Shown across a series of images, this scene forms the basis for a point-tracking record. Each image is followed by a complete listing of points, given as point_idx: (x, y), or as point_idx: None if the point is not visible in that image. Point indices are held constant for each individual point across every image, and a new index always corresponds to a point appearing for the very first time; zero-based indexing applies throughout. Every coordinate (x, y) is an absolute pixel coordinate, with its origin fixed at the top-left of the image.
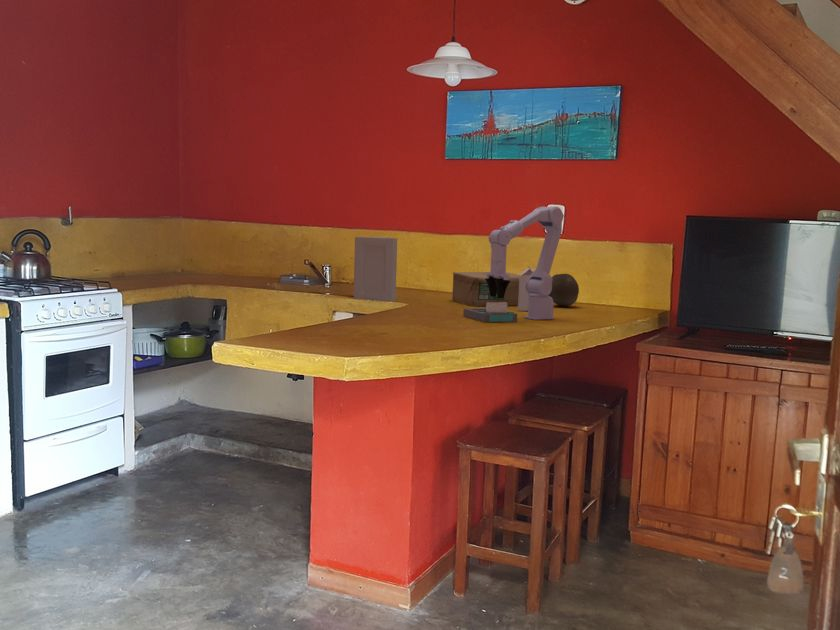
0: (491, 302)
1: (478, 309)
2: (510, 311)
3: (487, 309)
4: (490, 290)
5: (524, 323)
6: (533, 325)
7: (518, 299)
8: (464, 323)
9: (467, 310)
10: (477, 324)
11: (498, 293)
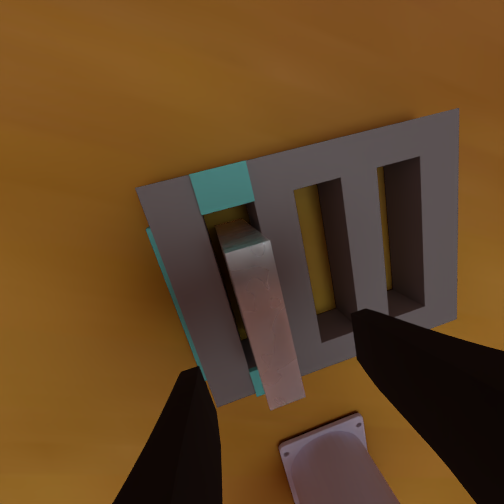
0: (275, 287)
1: (420, 211)
2: None
3: (235, 234)
4: (407, 346)
5: (154, 400)
6: (82, 434)
7: None
8: (60, 10)
9: (399, 123)
10: (27, 110)
11: (159, 422)
